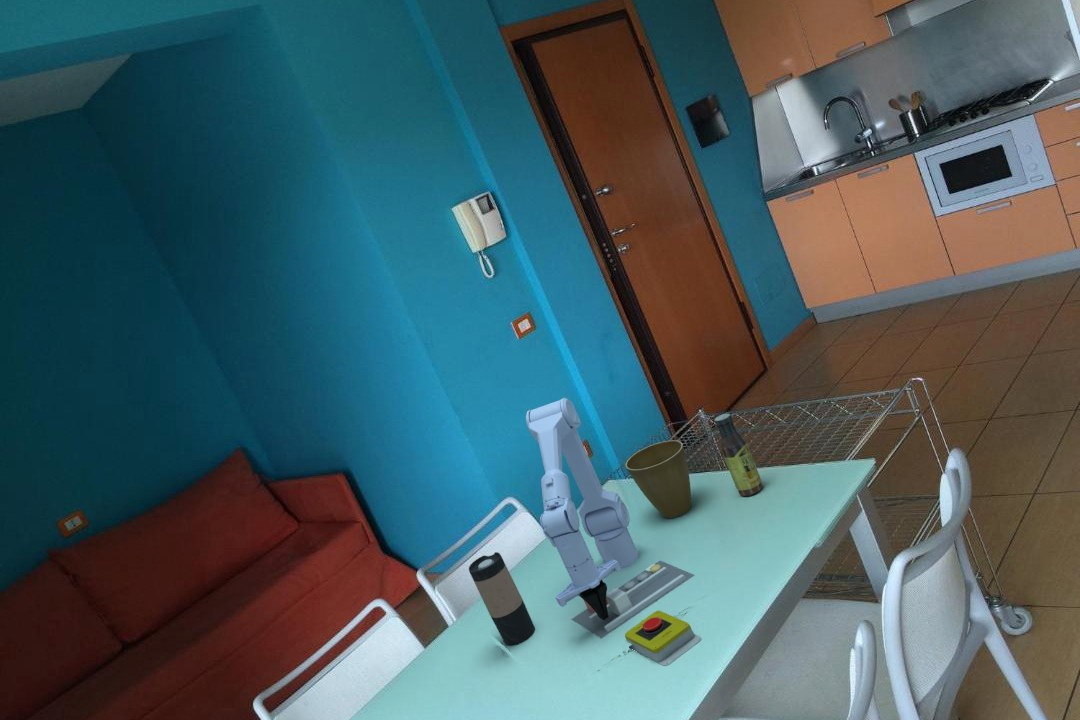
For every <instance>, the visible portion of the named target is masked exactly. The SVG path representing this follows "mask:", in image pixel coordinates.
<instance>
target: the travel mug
mask: <svg viewBox="0 0 1080 720" xmlns="http://www.w3.org/2000/svg"><path fill="white" fill-rule="evenodd" d="M468 572H469V574H470V576H471V579H472V580H473V582H474V584H475V587H476V589H477V590H478V593H479V595H480V597H481V599H482V601H483V604H484V606H485V607H486V610H487V612H488V614H489V617H490V618H491V620H492V622H493V624H494V625H495V628H496V629H497V632H498V633H499V635H500V637H501V638H502V640H503V643H504V644H505V646H509V647H514V646H518V645H520V644H522V643H524V642H526V641H527V640H529V639H530V638H532V637H533V636H534V633H535V631H536V627H535V624H534V622H533V620H532V618H531V615H530V613H529V611H528V608H527V607H526V604H525V602H524V600H523V598H522V597H523V596H522V595H521V593H520V592H519V589H518V587H517V586H516V583H515V581H514V579H513V577H512V575H511V573H510V571H509V569H508V567H507V565H506V563H505V561H504V559H503V556H502V555H501V553H500V552H494V553H493V554H491V555H481V556H480V557H478V558H477V559H475V560H473V561H472V563H471V564H470V565H469V566H468Z"/></svg>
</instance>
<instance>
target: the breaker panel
mask: <svg viewBox="0 0 1080 720" xmlns="http://www.w3.org/2000/svg"><path fill="white" fill-rule="evenodd" d="M693 577H695V574H693V573H691V572H689V571H686V570H683V569H682V568H678V567H677V566H675V565H672V564H669V563H667V562H665V561H663V560H658V561H657V562H656V563H653V564H651V565H649V566H648V567H647V568H645V569H644V570H643V571H642V572H640V573H639V574H637V575H636V576H634V577H633V578H632V579H630V580H628V581H627V582H626V583H624V584H623V585H621V586H619V587H617V588H618V589H620V590H622V591H623V592H625V593H626V594H627V596H628V598H629V600H630V602H631V605H632V608H631V609H629V610H628V611H626V612H625V613H623V614H622V615H620V616H618V615H617V614H615V613H613V612H612V611H611V609H610V606H609V604H608V605H607V610H608V615H609V617H608V618H606V619H605V620H602V619H600V618H599V616H598V615H597V613H596V612H595V613H593V612H591V611H589V610H588V609H587V608H586V609H585V610H583V611H581V612H580V613H578V614H577V615H576V616H574V617H572V618H571V620H572V621H574V622H575V623H577V624H578V625H580V626H581V627H583V628H584V629H586V630H588V631H589V632H591V633H592V634H594V635H595V636H597V637H598V638H600V639H603V638H604V637H606V636H607V635H609V634H610V633H612V632H614V631H615V630H616V629H618V628H620V627H621V626H622V625H624V624H625V623H627V622H628V621H630V620H631V619H633V618H634V617H636V616H637V615H639V614H640V613H641V612H642V611H645V610H646V609H648V608H649V607H650V606H652V605H653V604H654V603H656V602H658V601H659V600H661V599H662V598H663V597H665V596H666V595H668V594H669V593H671V592H672V591H673V590H675V589H677V588H678V587H679V586H681V585H683V584H684V583H685V582H687V581H688V580H690V579H692V578H693Z"/></svg>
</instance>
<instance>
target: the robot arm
mask: <svg viewBox="0 0 1080 720" xmlns="http://www.w3.org/2000/svg"><path fill="white" fill-rule="evenodd" d="M525 423H526V427H527V428H528V429H527V430H528V431H529V432H530V434H531V435H532V437H533V439H534V440H535V441H536V442H538V445H539V450H540V456H541V461H542V464H543V468H544V473H545V474H544V475H543V476H542V477H541V479H540V486H541V494H542V503H543V510H544V511H543V513H541V515H540V525H541V526H540V527H541V529H542V532H543V534H544V536H545V537H546V539H548V541H550V543H551V546H552V547H554V548H556V550H557V552H558V554H559V556H560V558H561V561H562V563H563V565H564V568H565V569H566V572H567V574H568V576H569V578H570V580H571V582H570V583H569V584H568V585H567V586H566V587H565V588H564V589H563V590H562V591H561V592H559V593H558V594H557V595H555V600H556V601H557V603H558V605H559V606H560V607H561V608H564V607H565V606H566V605H567V603H569V602H570V601H571V600H573V599H576V597H580V598H581V599H582V600H583V601H584V600H585V601H586V602H587V603H588V604H589V605H590V606H591V607H592V608H593V610H594V611H595V612H596V613H597V615H598V616H599V618H600V619H602V620H605V619H606V618H608V617H609V615H608V610H607V603H606V594H607V593H608V586H607V584H606V582H604V581H603V580H604V579H606V578H607V577H609V576H610V575H612V574H613V573H615V572H619V571H621V570H622V569H624V568H626V567H629V566H631V565H632V564H633V563H635V562H636V561H637V560H638V559H639V556H640V555H639V552H638V549H637V547H636V545H635V543H634V541H633V538H632V536H631V533H630V532H629V530H628V529H629V528H628V527H629V525H630V522H631V521H630V520H631V518H630V514H629V513H630V512H629V510H628V508H627V506H626V504H625V503H624V501H623V500H622V497H620V495H619V494H618V492H614V491H610V490H606V489H603V488H604V487H603V486H602V484H601V481H600V480H599V477H598V475H597V472H596V471H595V468H594V466H593V464H592V461H591V459H590V458H589V455H588V453H587V450H586V448H585V447H584V444H583V442H582V440H581V437H580V434H579V431H578V430H577V429H578V428H579V427H580V426H581V425H582V423H581V419H580V417H579V414H578V412H577V411H576V407H575V406H574V403H573V402H572V401H571V400H570V399H568V398H566V397H563V398H561V399H558V400H557V401H554V402H551V403H548V404H544V405H542V406H538V407H536V408H534V409H529V410H527V412H526V416H525ZM562 454H563V455H562ZM563 456H564V458H565V460H566V462H567V465H568V466H569V469H570V471H571V473H572V476H573V478H574V480H575V482H576V484H577V487H578V488H579V492H580V494H581V495H582V498H583V501H582V502H581V503H580V506H579V509H578V512H577V509H576V505H575V503H574V502H573V501H572V496H571V495H572V494H571V487H570V478H569V476H568V475H567V474H566V473H564V472H563V458H562V457H563ZM579 517H580V518H579ZM580 520H581V524H582V527H583V530H584V532H585V534H586V535H587V536H588V537H590V538H594V544H595V546H596V549H597V552H598V553H599V555H600V557H601V560H602V562H603V564H600V565H599V566H597V564H596V563H595V561H594V559H593V556H592V554H591V552H590V550H589V548H588V545H587V543H586V541H585V538H584V536H583V534H582V532H581V530H580Z"/></svg>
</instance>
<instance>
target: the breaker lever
mask: <svg viewBox="0 0 1080 720" xmlns="http://www.w3.org/2000/svg"><path fill="white" fill-rule="evenodd" d="M618 588H619V587H614V589H612V590H610V591H608V592H607V594H606V600H607V602H608V604H609V606H610V609H611V611H612V612H613V613H615V614H617V615H618V616H620V615H622V614H623V613H625V612H626V611H628V610H629V609H631V608H632V605H631V602H630V600H629V598H628V596H627V594H626V593H625V592H623V591H622V590H620V589H618Z"/></svg>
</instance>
